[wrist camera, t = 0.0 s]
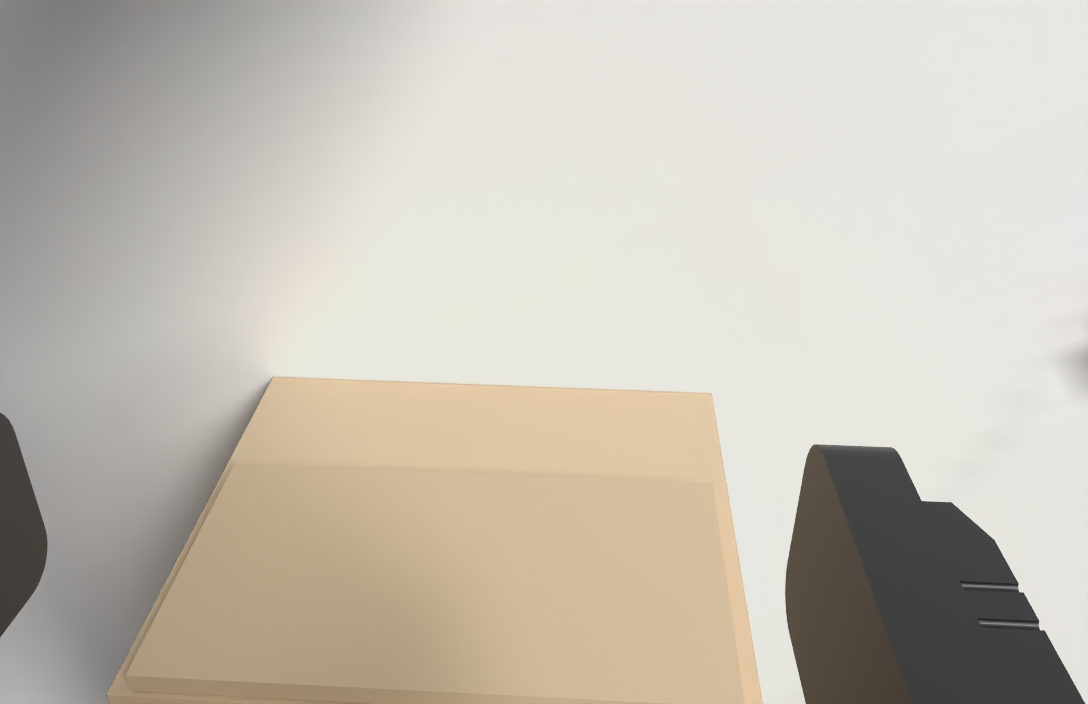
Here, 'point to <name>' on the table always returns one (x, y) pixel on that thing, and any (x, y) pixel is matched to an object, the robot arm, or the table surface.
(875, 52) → the table surface
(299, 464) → the carton
